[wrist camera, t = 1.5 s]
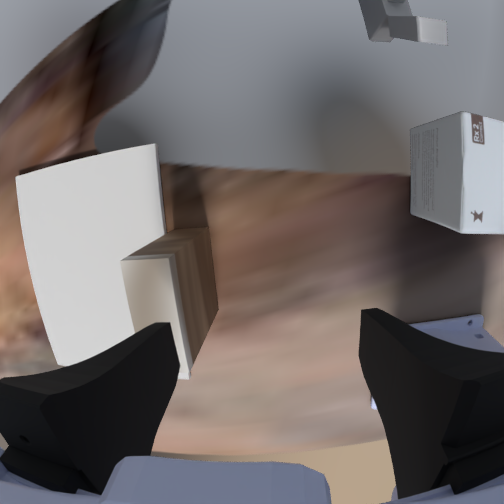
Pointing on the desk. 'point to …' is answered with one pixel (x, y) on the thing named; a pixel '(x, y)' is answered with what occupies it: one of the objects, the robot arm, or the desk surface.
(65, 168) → the mat
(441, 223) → the skincare box
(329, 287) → the desk surface
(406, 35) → the lighter
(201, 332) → the brown wooden block
